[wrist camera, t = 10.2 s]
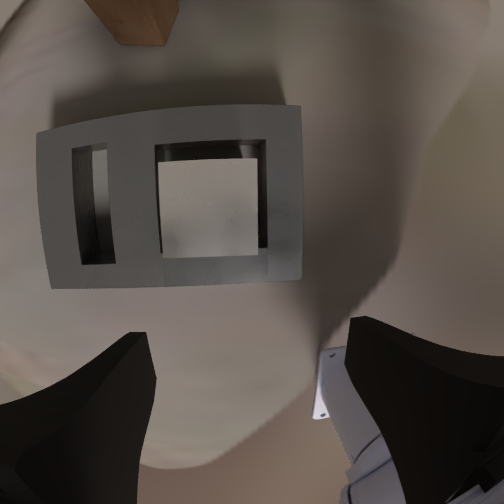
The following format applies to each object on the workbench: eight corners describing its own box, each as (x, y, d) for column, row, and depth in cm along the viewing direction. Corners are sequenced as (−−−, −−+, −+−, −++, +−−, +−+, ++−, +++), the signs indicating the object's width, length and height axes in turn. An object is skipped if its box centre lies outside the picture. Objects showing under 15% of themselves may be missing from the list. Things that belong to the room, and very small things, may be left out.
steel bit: (244, 165, 18) (256, 158, 12) (245, 227, 19) (257, 254, 13) (181, 167, 18) (158, 162, 11) (183, 229, 19) (163, 258, 12)
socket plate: (289, 115, 18) (300, 105, 15) (290, 264, 20) (301, 279, 17) (58, 137, 16) (36, 133, 13) (70, 274, 19) (51, 288, 16)
